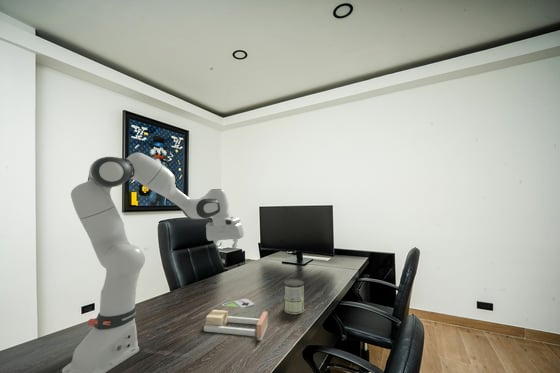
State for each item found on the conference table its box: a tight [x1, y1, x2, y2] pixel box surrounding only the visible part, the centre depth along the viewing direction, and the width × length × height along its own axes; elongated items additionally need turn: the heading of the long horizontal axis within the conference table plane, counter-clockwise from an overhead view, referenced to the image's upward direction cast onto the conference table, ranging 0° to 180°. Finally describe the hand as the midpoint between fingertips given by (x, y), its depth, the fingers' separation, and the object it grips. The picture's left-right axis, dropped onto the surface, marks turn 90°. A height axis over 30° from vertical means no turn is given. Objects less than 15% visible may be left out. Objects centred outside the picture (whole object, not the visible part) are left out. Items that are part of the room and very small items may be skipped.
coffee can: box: [283, 278, 305, 315], centre depth 123 cm, size 10×10×14 cm
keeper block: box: [205, 309, 229, 326], centre depth 104 cm, size 7×7×5 cm
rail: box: [201, 310, 269, 341], centre depth 103 cm, size 12×26×6 cm, turn 81°
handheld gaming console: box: [221, 298, 255, 309], centre depth 127 cm, size 10×2×15 cm
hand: (226, 248), depth 118 cm, fingers open, 8 cm apart
